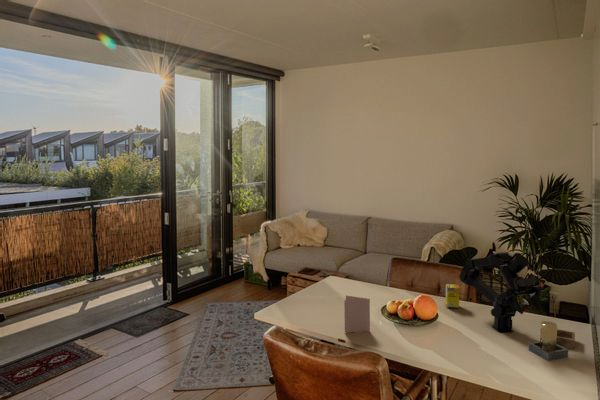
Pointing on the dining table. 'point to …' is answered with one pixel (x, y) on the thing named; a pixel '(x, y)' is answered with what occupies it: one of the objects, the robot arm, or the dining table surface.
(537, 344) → the tray
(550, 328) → the tan cylinder
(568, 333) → the walnut socket
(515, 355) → the dining table surface
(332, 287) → the dining table surface
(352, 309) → the greeting card
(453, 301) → the supplement box
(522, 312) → the robot arm
